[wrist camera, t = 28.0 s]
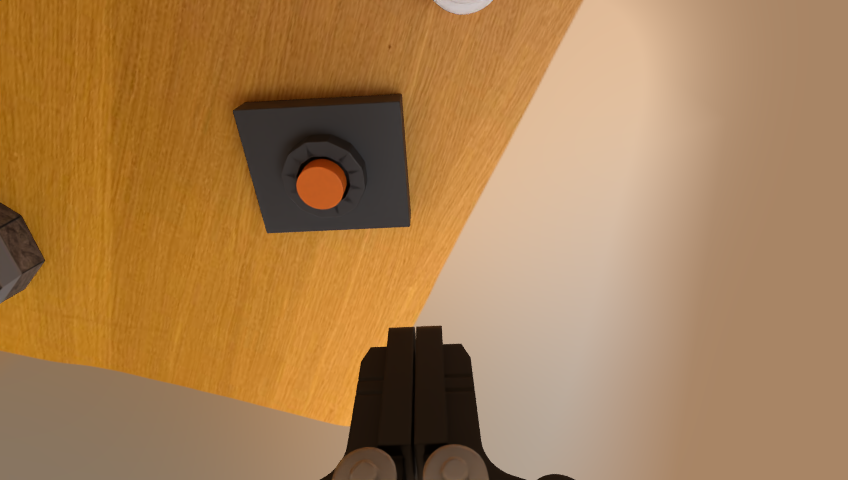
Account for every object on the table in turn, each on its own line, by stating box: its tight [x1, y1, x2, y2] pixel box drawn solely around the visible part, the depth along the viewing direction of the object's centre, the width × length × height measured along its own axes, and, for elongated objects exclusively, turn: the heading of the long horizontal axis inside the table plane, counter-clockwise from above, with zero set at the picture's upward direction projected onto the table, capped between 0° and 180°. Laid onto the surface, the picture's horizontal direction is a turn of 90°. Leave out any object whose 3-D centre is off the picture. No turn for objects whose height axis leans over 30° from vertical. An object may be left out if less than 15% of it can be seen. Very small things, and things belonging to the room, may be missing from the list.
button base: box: [233, 94, 411, 233], centre depth 36 cm, size 13×11×4 cm
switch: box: [296, 159, 347, 209], centre depth 33 cm, size 4×4×2 cm
